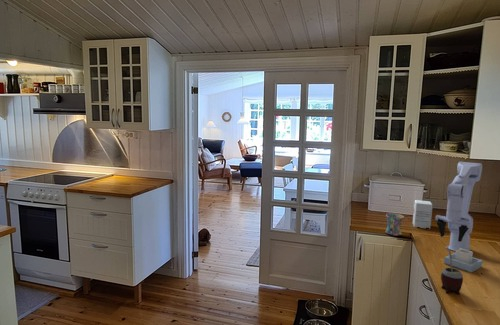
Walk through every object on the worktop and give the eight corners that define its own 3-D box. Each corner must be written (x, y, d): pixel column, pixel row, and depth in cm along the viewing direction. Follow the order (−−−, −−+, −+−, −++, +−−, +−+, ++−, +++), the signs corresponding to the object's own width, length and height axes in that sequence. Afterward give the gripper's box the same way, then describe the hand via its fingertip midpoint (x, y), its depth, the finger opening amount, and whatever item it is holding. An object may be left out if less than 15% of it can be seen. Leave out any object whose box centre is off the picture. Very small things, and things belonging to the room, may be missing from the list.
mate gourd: (456, 297, 124) (460, 257, 122) (433, 288, 130) (437, 250, 128) (465, 292, 128) (469, 253, 126) (443, 283, 134) (447, 246, 132)
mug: (384, 230, 198) (386, 212, 196) (402, 233, 194) (404, 214, 192) (383, 236, 187) (384, 217, 186) (401, 239, 183) (403, 220, 182)
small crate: (459, 260, 155) (460, 248, 155) (471, 264, 151) (472, 251, 151) (454, 263, 152) (455, 250, 152) (466, 267, 148) (468, 254, 148)
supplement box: (412, 223, 214) (414, 199, 212) (428, 224, 211) (430, 201, 209) (413, 227, 205) (416, 202, 203) (430, 229, 202) (433, 204, 200)
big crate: (455, 258, 160) (455, 252, 159) (481, 266, 151) (482, 260, 151) (443, 263, 153) (444, 257, 153) (470, 272, 145) (471, 266, 144)
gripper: (433, 207, 159) (430, 235, 160) (468, 215, 147) (464, 245, 149) (440, 205, 163) (437, 232, 165) (474, 212, 151) (471, 242, 153)
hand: (450, 238), depth 157 cm, fingers open, 7 cm apart
